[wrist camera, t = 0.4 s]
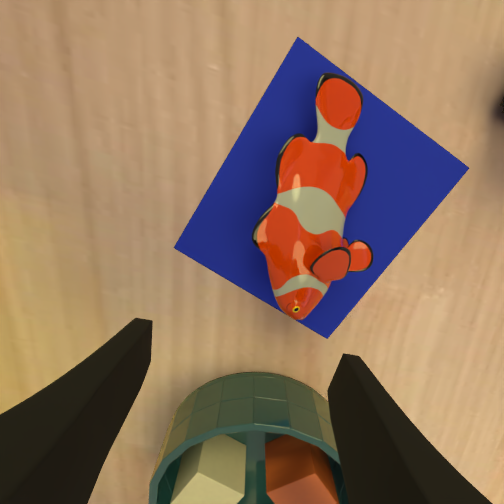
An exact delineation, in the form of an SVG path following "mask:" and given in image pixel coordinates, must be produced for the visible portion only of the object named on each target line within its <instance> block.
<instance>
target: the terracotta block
mask: <svg viewBox="0 0 504 504" xmlns="http://www.w3.org/2000/svg"><path fill="white" fill-rule="evenodd" d="M265 463H266V493H267V495H268V496H269V497H270V498H271V500H272V501H273V502H274V503H275V504H339V500H338V496H337V492H336V488H335V484H334V479H333V475H332V471H331V467H330V463H329V459H328V456H327V454H326V453H325V452H324V451H323V450H321V449H320V448H319V447H318V446H315V445H313V444H310V443H308V442H305V441H303V440H300V439H298V438H295V437H293V436H290V435H287V434H285V435H283V436H281V437H279V438H276V439H274V440H272V441H269V442H267V443H265Z"/></svg>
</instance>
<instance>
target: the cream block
mask: <svg viewBox="0 0 504 504" xmlns="http://www.w3.org/2000/svg"><path fill="white" fill-rule="evenodd" d="M245 464H246V445H244V444H242V443H240V442H238V441H236V440H235V439H233V438H231V437H229V436H227V435H225V434H221V435H218V436H215V437H213V438H211V439H208V440H206V441H203V442H201V443H198V444H196V445H193V446H191V447H189V448H188V449H187V450H186V451H185V452H184V453H183V454H182V458H181V462H180V466H179V470H178V474H177V478H176V482H175V486H174V490H173V494H172V498H171V502H170V504H237V503H238V502H239V501H240V500H241V499H242V498H243V497H244V492H245Z"/></svg>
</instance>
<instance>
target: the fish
mask: <svg viewBox="0 0 504 504" xmlns="http://www.w3.org/2000/svg"><path fill="white" fill-rule="evenodd" d="M357 84H358V82H356V81H355V80H354V79H352V78H351V77H350V76H348V77H346V76H344V75H342V74H339V73H335V72H323V73H322V74H321V75H320V77H319V78H318V80H317V83H316V87H315V95H314V104H315V116H316V135H315V138H314V139H313V141H310V140H309V139H308V138H307V137H306V136H305V135H304V134H303V133H301V132H297V133H295V134H293V135H291V136H290V137H289V138H288V139H287V140H286V141H285V142H284V144H283V145H282V147H281V148H280V150H279V152H278V154H277V157H276V160H275V167H274V178H275V186H276V198H275V200H274V202H273V203H272V204H271V205H270V206H269V207H268V208H267V209H266V210H265V211H264V212H263V213H262V214H261V216H260V217H259V218H258V220H257V221H256V223H255V225H254V226H253V229H252V231H251V241H252V244H253V245H254V246H255V247H256V248H257V249H258V250H259V251H261V252H262V253H263V255H264V257H265V261H266V267H267V274H268V278H269V282H270V286H271V290H272V293H273V296H274V299H275V301H276V303H277V305H278V307H279V309H280V310H281V312H283V313H284V314H286V315H288V316H289V317H291V318H292V319H294V320H296V321H303V320H304V319H305V318H306V317H307V316H308V315H309V314H310V313H311V312H312V311H313V310H314V309H315V308H316V307H317V306H318V304H319V303H320V302H321V301H322V299H323V298H324V296H325V295H326V293H327V292H328V290H329V288H330V287H331V284H332V282H334V281H340V280H343V279H344V278H345V277H346V276H347V275H348V273H361V272H365V271H367V270H368V269H370V268H371V267H372V265H373V263H374V257H375V255H374V251H373V249H372V247H371V245H370V244H369V243H368V242H366V241H364V240H362V239H354V240H353V241H352V242H351V243H350V241H349V239H348V238H347V237H345V236H344V230H345V224H346V219H347V215H348V212H349V210H350V209H351V207H352V206H353V205H354V203H355V202H356V201H357V199H358V198H359V197H360V195H361V193H362V192H363V190H364V188H365V185H366V183H367V179H368V175H369V166H368V163H367V160H366V158H365V157H364V155H363V154H362V153H360V152H356V153H354V154H353V155H352V156H351V158H350V159H349V160H348V157H347V144H348V140H349V137H350V135H351V133H352V131H353V130H354V128H355V127H356V125H357V123H358V121H359V119H360V116H361V114H362V110H363V106H364V95H363V92H362V90H361V89H360V88H359V86H358V85H357Z"/></svg>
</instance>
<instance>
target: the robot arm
mask: <svg viewBox="0 0 504 504" xmlns="http://www.w3.org/2000/svg"><path fill="white" fill-rule="evenodd" d="M152 323H153V321H152V320H146V319H140V318H135V319H133V320H132V321H131V322H130V323H129V324H128V325H126V326H125V327H124V328H123V329H122V330H121V331H119V332H118V333H117V334H116V335H115V336H114V337H112V338H111V339H110V340H109V341H108V342H106V343H105V344H104V345H103V346H101V347H100V348H99V349H98V350H96V351H95V352H94V353H93V354H91V355H90V356H89V357H88V358H86V359H85V360H84V361H82V362H81V363H79V364H78V365H77V366H75V367H74V368H73V369H71V370H70V371H68V372H67V373H66V374H64V375H63V376H62V377H60V378H59V379H57V380H56V381H54V382H53V383H51V384H50V385H48V386H47V387H45V388H44V389H42V390H41V391H39V392H37V393H36V394H34V395H33V396H31V397H29V398H28V399H26V400H25V401H23V402H21V403H20V404H18V405H16V406H14V407H13V408H11V409H9V410H8V411H6V412H4V413H2V414H1V415H0V504H87V503H88V501H89V498H90V496H91V493H92V491H93V488H94V486H95V483H96V481H97V478H98V476H99V473H100V471H101V468H102V466H103V464H104V462H105V459H106V457H107V455H108V453H109V451H110V449H111V447H112V445H113V443H114V441H115V439H116V437H117V435H118V433H119V431H120V429H121V427H122V425H123V423H124V421H125V419H126V417H127V415H128V413H129V411H130V409H131V407H132V405H133V403H134V401H135V399H136V397H137V395H138V393H139V391H140V389H141V386H142V384H143V381H144V378H145V376H146V373H147V370H148V367H149V365H150V362H151V345H152ZM327 391H328V402H329V412H330V420H331V424H332V429H333V433H334V438H335V443H336V447H337V451H338V456H339V460H340V465H341V469H342V473H343V478H344V482H345V486H346V492H347V497H348V502H349V504H492V503H491V502H490V501H489V500H488V499H487V498H486V497H485V496H483V495H482V494H481V493H480V492H479V491H478V490H477V489H476V488H475V487H474V486H473V485H472V484H470V483H469V482H468V481H467V480H466V479H465V478H464V477H463V476H462V475H461V474H460V473H459V472H458V471H457V470H456V469H455V468H454V467H453V466H452V465H451V464H450V463H449V462H448V461H447V460H446V459H445V458H444V457H443V456H442V455H441V454H440V453H439V452H438V451H437V450H436V449H435V447H434V446H433V445H432V444H431V443H430V442H429V441H428V440H427V439H426V438H425V437H424V435H423V434H422V433H421V432H420V431H419V430H418V429H417V427H416V426H415V425H414V424H413V423H412V422H411V421H410V419H409V418H408V417H407V416H406V415H405V414H404V412H403V411H402V410H401V409H400V407H399V406H398V405H397V404H396V403H395V401H394V400H393V399H392V398H391V396H390V395H389V394H388V393H387V391H386V390H385V389H384V387H383V386H382V385H381V384H380V382H379V381H378V380H377V378H376V377H375V376H374V374H373V373H372V372H371V371H370V369H369V368H368V367H367V365H366V364H365V363H364V362H363V360H362V359H361V358H360V357H359V356H355V355H350V354H344V353H343V355H342V358H341V360H340V362H339V365H338V367H337V369H336V372H335V374H334V376H333V379H332V381H331V383H330V386H329V388H328V390H327Z"/></svg>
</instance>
